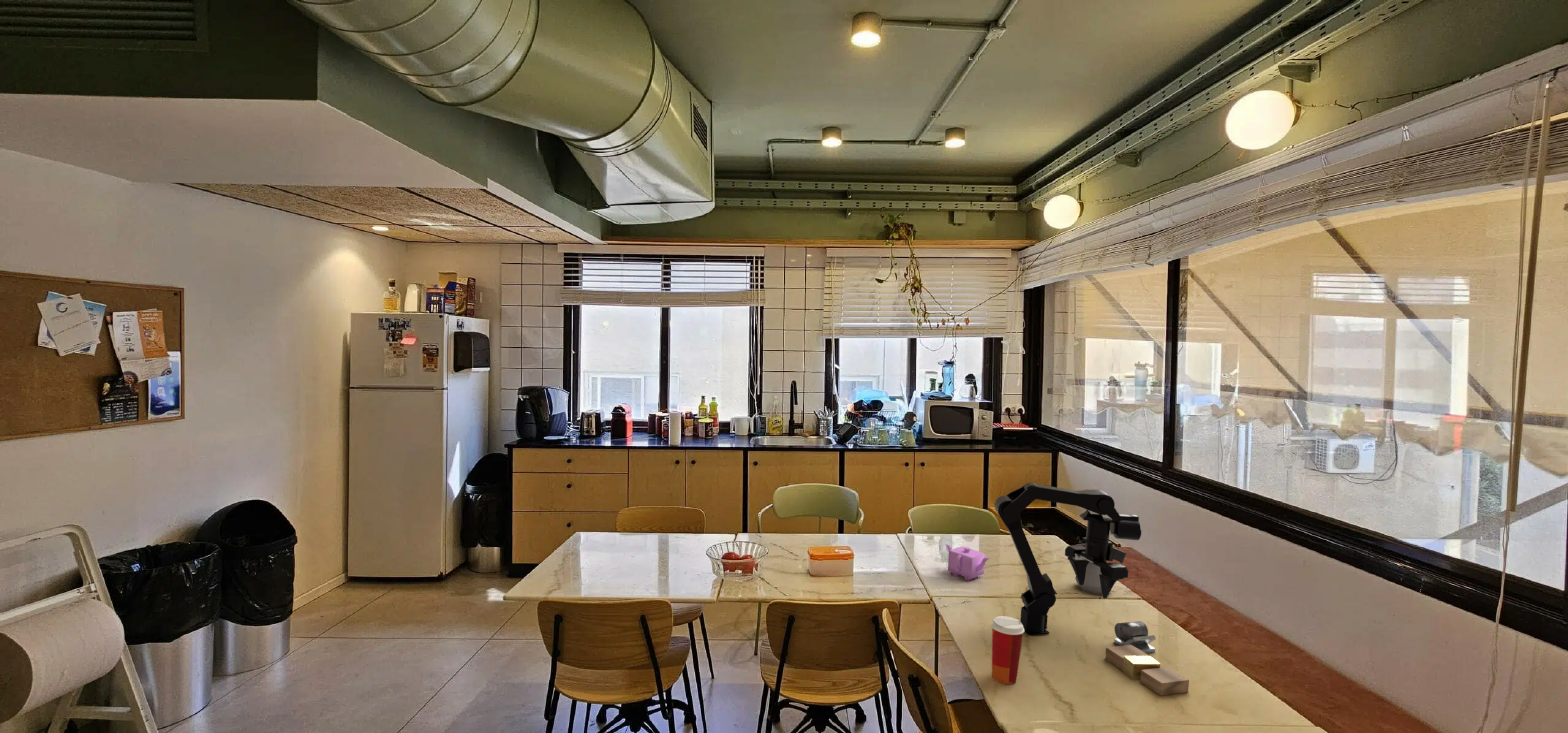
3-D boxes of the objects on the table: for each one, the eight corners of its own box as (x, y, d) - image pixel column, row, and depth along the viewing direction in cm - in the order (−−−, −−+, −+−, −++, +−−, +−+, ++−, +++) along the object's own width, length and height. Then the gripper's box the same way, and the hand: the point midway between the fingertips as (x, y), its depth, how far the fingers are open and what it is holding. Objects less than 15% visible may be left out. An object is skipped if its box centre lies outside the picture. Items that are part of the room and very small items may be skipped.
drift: (1132, 679, 166) (1133, 663, 166) (1122, 671, 170) (1123, 655, 170) (1159, 679, 166) (1160, 664, 166) (1149, 671, 170) (1150, 656, 170)
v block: (1133, 654, 179) (1134, 638, 179) (1114, 642, 186) (1115, 627, 185) (1155, 652, 181) (1156, 636, 180) (1135, 640, 187) (1136, 625, 187)
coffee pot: (1086, 580, 232) (1089, 538, 231) (1119, 592, 223) (1122, 547, 222) (1050, 592, 220) (1053, 547, 219) (1083, 605, 211) (1087, 558, 210)
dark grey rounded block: (1125, 643, 180) (1127, 627, 179) (1113, 635, 184) (1115, 620, 183) (1147, 641, 181) (1148, 625, 181) (1134, 633, 186) (1136, 618, 185)
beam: (1160, 695, 158) (1161, 683, 158) (1105, 658, 176) (1106, 647, 176) (1188, 692, 161) (1189, 679, 160) (1130, 655, 178) (1131, 644, 178)
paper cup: (1013, 670, 167) (1017, 615, 166) (1025, 687, 159) (1030, 629, 158) (982, 669, 167) (986, 614, 166) (993, 686, 159) (997, 628, 158)
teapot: (1000, 579, 230) (1002, 551, 229) (979, 588, 221) (981, 558, 220) (954, 563, 243) (956, 537, 243) (933, 571, 234) (935, 544, 234)
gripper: (1147, 546, 180) (1142, 603, 181) (1098, 525, 198) (1093, 577, 199) (1113, 548, 177) (1107, 605, 178) (1065, 526, 195) (1061, 579, 196)
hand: (1092, 591), depth 188 cm, fingers open, 9 cm apart
